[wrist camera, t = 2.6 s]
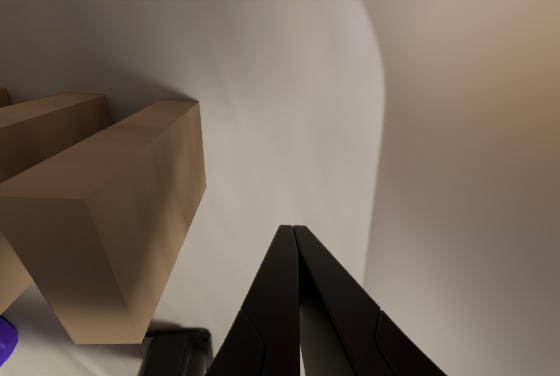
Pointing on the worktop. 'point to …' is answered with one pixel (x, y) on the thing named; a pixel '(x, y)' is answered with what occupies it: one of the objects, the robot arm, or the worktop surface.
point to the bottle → (6, 340)
